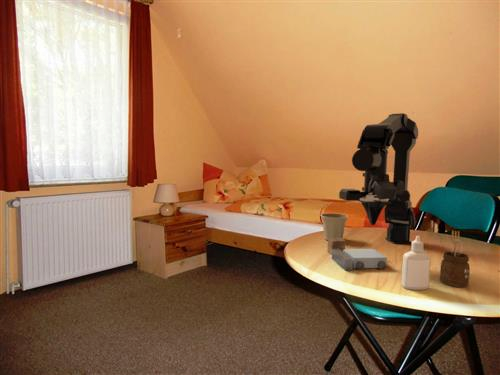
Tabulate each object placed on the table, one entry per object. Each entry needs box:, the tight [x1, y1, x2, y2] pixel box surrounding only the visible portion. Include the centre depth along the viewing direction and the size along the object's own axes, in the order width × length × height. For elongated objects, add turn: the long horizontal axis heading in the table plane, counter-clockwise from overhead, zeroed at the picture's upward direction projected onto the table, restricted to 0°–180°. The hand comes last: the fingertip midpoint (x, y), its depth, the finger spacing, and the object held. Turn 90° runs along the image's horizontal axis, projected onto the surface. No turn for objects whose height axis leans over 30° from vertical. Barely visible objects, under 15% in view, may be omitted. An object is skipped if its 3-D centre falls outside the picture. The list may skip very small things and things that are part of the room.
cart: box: [343, 248, 388, 270], centre depth 96 cm, size 9×10×3 cm
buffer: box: [331, 249, 353, 271], centre depth 96 cm, size 2×10×3 cm, turn 6°
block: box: [327, 238, 346, 256], centre depth 106 cm, size 4×4×4 cm
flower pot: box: [320, 212, 349, 241], centre depth 123 cm, size 9×9×9 cm
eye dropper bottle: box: [401, 235, 431, 291], centre depth 80 cm, size 4×6×12 cm
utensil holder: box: [439, 230, 471, 288], centre depth 83 cm, size 6×6×12 cm
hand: (372, 224), depth 100 cm, fingers closed
